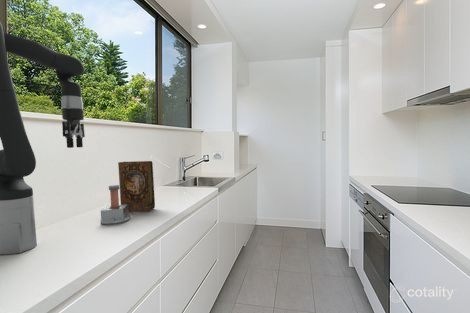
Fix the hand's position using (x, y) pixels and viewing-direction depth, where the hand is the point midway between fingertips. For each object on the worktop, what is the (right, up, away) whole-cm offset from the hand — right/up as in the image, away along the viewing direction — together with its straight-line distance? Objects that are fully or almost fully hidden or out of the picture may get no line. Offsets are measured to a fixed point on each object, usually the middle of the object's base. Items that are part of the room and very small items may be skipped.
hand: (75, 147), depth 107 cm
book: (+17, -32, +24) cm, 43 cm away
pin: (+13, -30, +8) cm, 34 cm away
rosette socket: (+13, -32, +8) cm, 36 cm away
